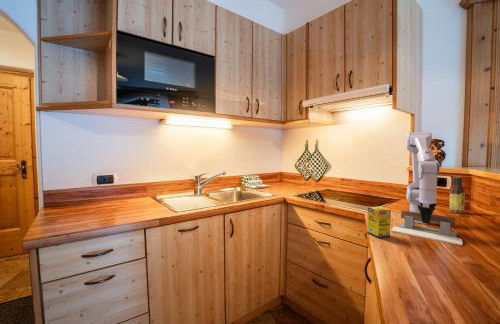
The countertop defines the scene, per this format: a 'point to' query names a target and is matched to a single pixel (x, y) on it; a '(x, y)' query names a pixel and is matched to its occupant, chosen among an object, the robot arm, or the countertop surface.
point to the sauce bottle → (457, 196)
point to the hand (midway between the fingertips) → (426, 221)
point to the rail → (434, 219)
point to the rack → (443, 228)
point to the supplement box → (379, 221)
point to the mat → (427, 235)
